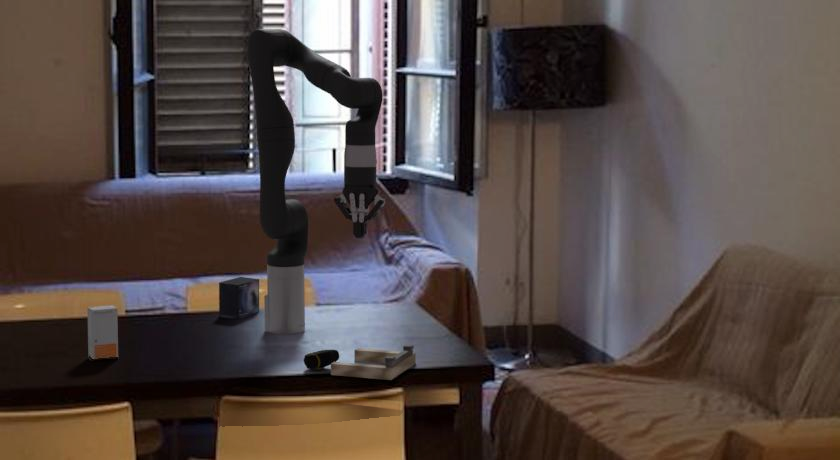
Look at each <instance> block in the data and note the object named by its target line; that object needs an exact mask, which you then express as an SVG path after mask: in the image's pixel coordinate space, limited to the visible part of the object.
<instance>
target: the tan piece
mask: <svg viewBox="0 0 840 460" xmlns="http://www.w3.org/2000/svg"><path fill="white" fill-rule="evenodd" d="M402 347H403V348H402V349H403V350H401V351H399V350H398V351H397V350H387V349H386V350H385V349H384V350H383V349H373V348H358V347H357V348H355V349H354V361H355V362H363V361H368V362H367V363H375V362H377V363H379V364H385V365H379V364H367V363H365V364H364V363H354V362H353V363H352V362H341V361H336V362H333V363H331V365H330V375H331V376H341V377H350V378H351V377H352V378H363V379H374V380H386V381H392V380H394V379H395V378H397V377H399V375H401V374H402V373H404V372H405V371H407V370H409V369H410V368H411V367H413V366H414V365H415V364H416V352H414V344H405V345H403V346H402Z"/></svg>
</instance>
